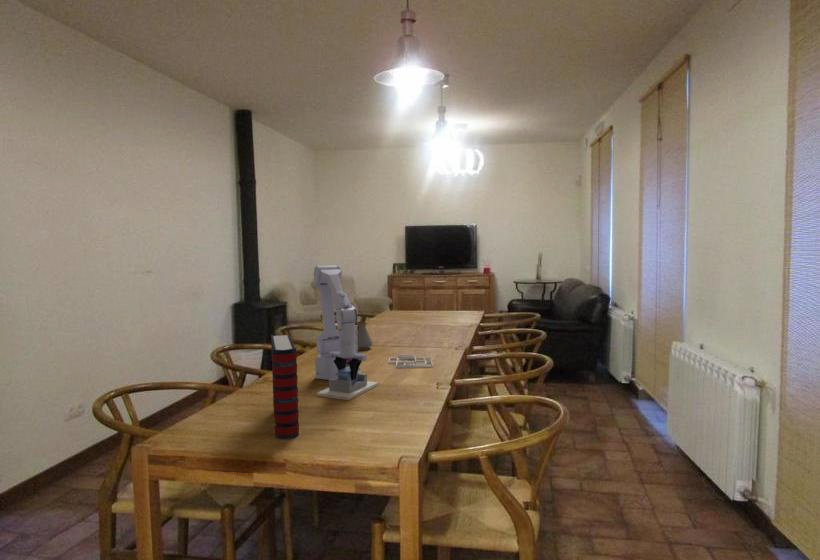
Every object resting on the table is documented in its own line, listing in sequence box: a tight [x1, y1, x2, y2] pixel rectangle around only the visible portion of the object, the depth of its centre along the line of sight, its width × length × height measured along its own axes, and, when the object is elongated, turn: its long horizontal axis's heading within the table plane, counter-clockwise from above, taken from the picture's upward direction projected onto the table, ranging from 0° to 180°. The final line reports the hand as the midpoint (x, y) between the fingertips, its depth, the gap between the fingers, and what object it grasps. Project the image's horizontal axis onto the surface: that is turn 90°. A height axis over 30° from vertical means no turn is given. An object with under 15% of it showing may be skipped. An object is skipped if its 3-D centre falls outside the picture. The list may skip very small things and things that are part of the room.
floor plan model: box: [388, 354, 434, 369], centre depth 231 cm, size 19×25×2 cm
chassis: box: [316, 372, 379, 401], centre depth 191 cm, size 13×20×5 cm, turn 154°
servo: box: [335, 365, 361, 384], centre depth 190 cm, size 4×10×6 cm, turn 154°
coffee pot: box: [355, 321, 373, 351], centre depth 257 cm, size 21×12×15 cm, turn 178°
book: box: [270, 333, 300, 440], centre depth 156 cm, size 25×7×25 cm, turn 16°
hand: (348, 378), depth 190 cm, fingers closed on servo, 4 cm apart
